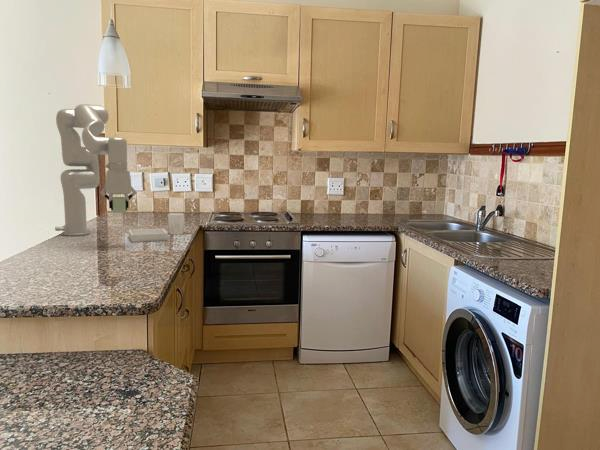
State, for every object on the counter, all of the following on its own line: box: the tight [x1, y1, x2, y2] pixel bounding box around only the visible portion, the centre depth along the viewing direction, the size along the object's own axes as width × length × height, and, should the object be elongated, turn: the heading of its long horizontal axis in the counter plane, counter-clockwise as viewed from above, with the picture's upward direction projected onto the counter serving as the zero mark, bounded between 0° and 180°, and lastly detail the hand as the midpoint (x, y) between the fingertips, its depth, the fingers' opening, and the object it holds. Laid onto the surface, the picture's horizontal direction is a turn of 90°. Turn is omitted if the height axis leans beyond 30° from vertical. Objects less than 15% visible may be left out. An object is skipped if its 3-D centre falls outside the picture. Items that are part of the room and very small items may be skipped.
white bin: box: [128, 227, 169, 243], centre depth 228 cm, size 16×16×4 cm
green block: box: [112, 196, 127, 213], centre depth 207 cm, size 5×5×6 cm
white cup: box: [167, 212, 185, 236], centre depth 243 cm, size 8×8×10 cm
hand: (119, 209), depth 207 cm, fingers closed on green block, 5 cm apart
